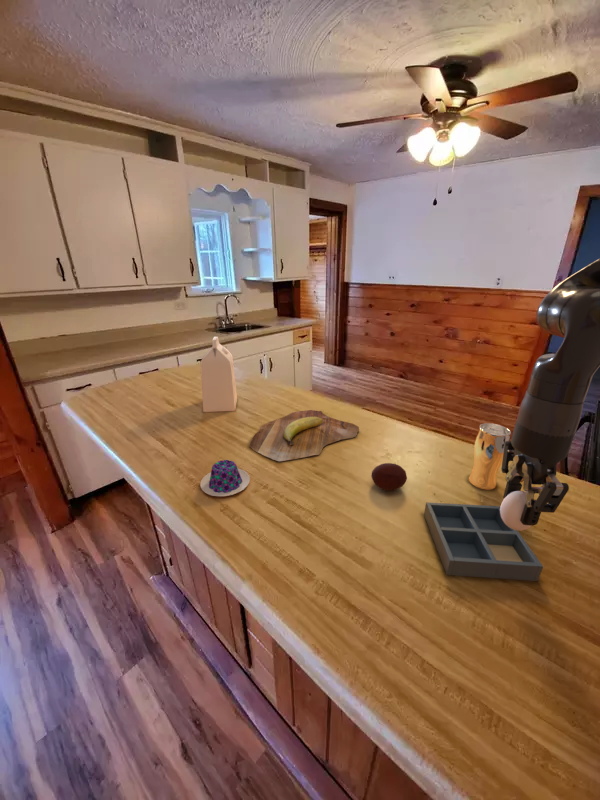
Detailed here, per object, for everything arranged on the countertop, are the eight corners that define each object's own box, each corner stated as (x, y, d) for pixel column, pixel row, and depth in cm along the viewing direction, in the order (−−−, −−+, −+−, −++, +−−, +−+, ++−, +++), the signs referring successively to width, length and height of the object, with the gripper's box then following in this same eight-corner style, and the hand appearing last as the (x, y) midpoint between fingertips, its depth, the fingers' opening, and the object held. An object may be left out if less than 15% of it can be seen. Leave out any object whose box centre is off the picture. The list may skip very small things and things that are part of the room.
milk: (208, 399, 135) (201, 335, 125) (237, 398, 136) (232, 334, 126) (203, 411, 124) (195, 342, 114) (235, 410, 125) (230, 341, 115)
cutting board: (308, 407, 129) (308, 397, 127) (368, 430, 111) (369, 419, 109) (232, 438, 105) (231, 427, 104) (293, 473, 88) (293, 460, 86)
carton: (496, 519, 72) (500, 506, 71) (538, 581, 58) (543, 566, 57) (423, 514, 73) (426, 502, 72) (446, 574, 59) (450, 560, 58)
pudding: (190, 491, 80) (187, 473, 78) (219, 466, 91) (217, 449, 89) (233, 504, 76) (231, 485, 74) (258, 475, 87) (257, 458, 85)
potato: (403, 500, 78) (407, 478, 76) (368, 492, 81) (370, 471, 78) (406, 482, 84) (409, 461, 82) (373, 475, 87) (375, 455, 85)
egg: (538, 534, 57) (550, 499, 55) (514, 541, 56) (525, 505, 53) (512, 514, 62) (522, 481, 59) (489, 519, 61) (498, 486, 58)
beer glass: (503, 484, 84) (517, 431, 78) (488, 494, 80) (502, 439, 74) (476, 471, 89) (488, 420, 83) (461, 480, 85) (472, 427, 80)
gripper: (607, 447, 45) (568, 545, 51) (543, 405, 58) (518, 487, 64) (548, 445, 45) (517, 542, 51) (498, 404, 58) (478, 485, 65)
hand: (518, 511), depth 58 cm, fingers closed on egg, 5 cm apart
